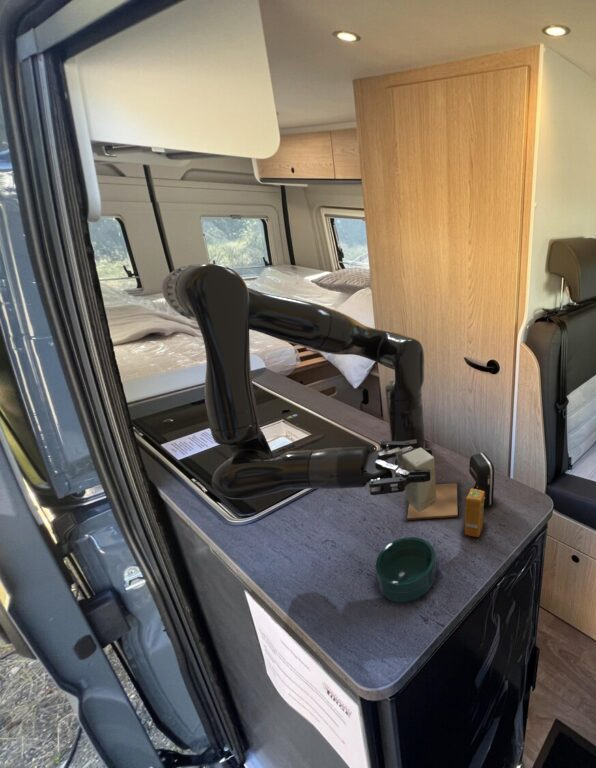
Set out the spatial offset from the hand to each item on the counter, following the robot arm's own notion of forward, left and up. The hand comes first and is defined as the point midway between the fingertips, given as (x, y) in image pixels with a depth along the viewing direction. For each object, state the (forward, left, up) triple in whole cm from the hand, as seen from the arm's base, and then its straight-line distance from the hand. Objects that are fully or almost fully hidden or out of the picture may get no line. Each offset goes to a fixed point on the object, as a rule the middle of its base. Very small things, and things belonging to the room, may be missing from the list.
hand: (431, 463), depth 75 cm
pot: (+11, -5, -18) cm, 21 cm away
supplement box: (+1, +8, -18) cm, 20 cm away
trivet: (-9, -1, -18) cm, 20 cm away
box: (0, -2, -9) cm, 10 cm away
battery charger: (-9, +10, -18) cm, 23 cm away
